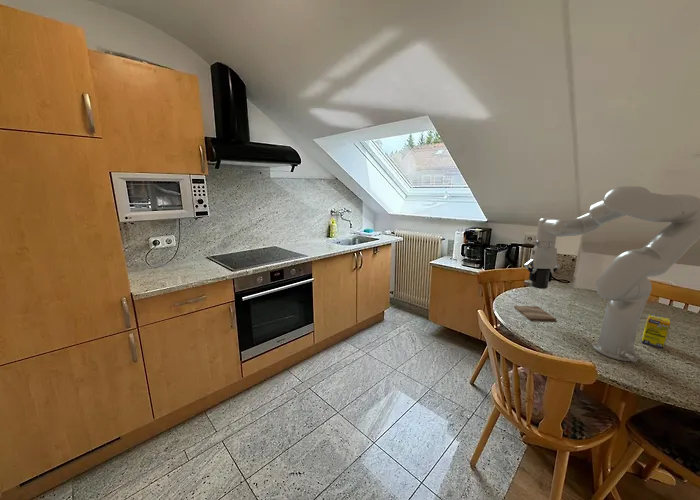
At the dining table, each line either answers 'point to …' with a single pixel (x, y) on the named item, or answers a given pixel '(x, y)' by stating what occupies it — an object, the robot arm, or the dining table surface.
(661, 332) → the supplement box
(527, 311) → the walnut board
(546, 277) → the supplement bottle
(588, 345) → the dining table surface
